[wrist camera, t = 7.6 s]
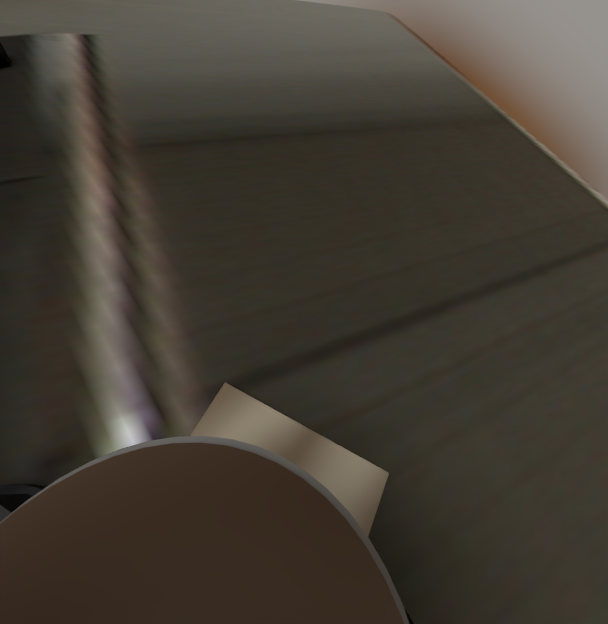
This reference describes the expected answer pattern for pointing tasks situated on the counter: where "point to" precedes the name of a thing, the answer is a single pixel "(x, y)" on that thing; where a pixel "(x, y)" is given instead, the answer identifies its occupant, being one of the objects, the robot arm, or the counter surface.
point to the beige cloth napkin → (297, 450)
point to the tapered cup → (190, 544)
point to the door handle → (3, 56)
